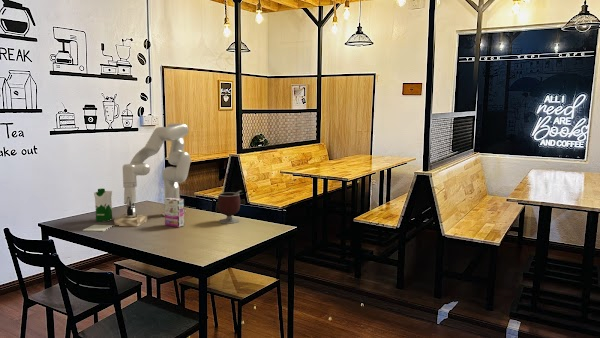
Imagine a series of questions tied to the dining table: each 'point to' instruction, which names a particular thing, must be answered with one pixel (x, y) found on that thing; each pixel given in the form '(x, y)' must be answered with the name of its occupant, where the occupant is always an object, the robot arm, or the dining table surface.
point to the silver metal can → (133, 212)
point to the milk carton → (103, 205)
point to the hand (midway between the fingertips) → (131, 214)
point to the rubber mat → (98, 228)
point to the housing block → (130, 220)
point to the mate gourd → (229, 206)
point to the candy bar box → (174, 212)
